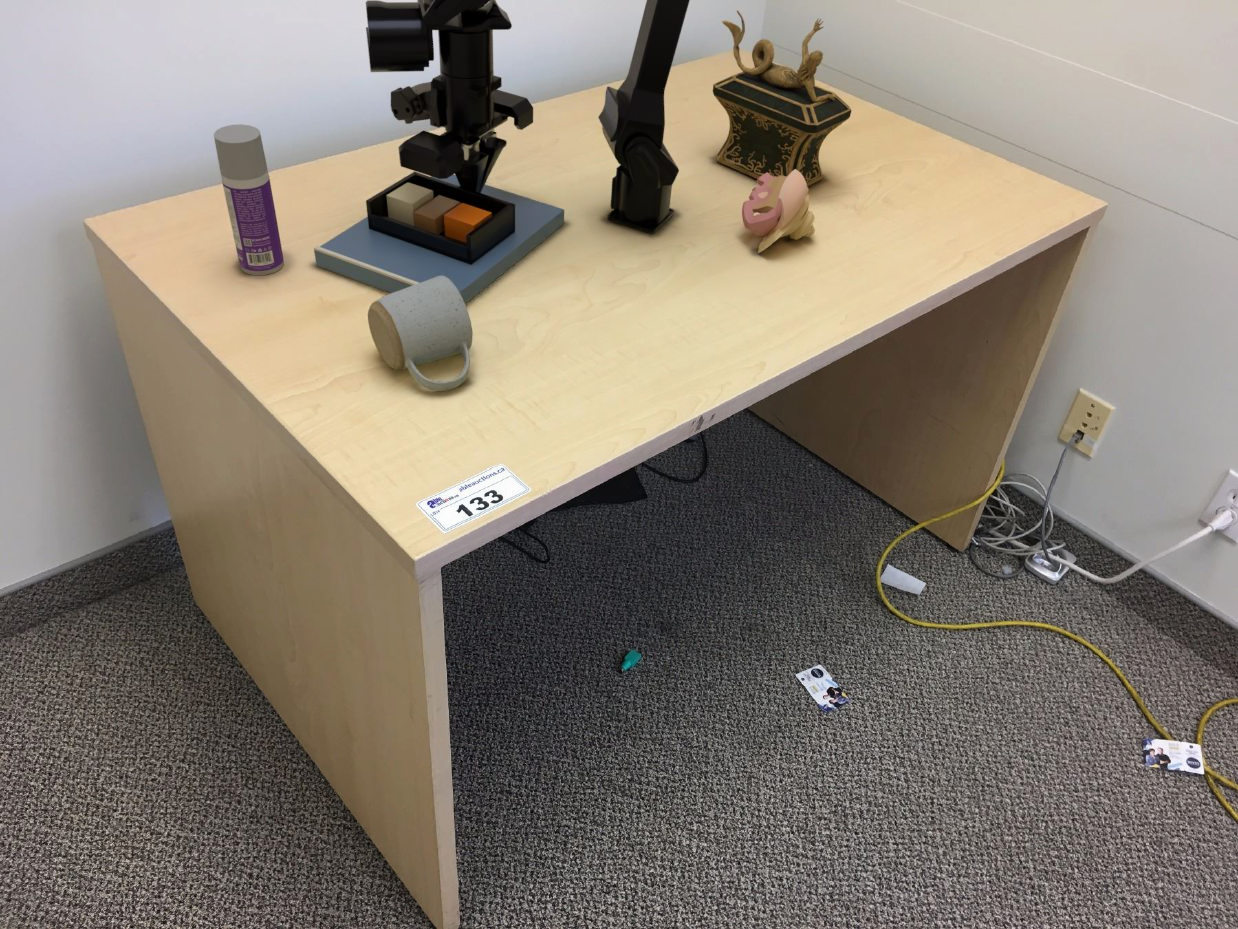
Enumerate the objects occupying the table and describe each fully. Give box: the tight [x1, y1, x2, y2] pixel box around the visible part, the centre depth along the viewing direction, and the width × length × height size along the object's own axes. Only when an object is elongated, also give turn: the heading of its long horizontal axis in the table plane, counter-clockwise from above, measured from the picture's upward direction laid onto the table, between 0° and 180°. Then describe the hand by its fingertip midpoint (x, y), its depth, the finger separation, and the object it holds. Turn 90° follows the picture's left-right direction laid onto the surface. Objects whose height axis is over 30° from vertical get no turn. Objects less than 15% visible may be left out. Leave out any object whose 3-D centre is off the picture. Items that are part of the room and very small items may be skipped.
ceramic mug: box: [367, 276, 474, 392], centre depth 96 cm, size 11×8×8 cm
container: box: [213, 123, 285, 276], centre depth 105 cm, size 5×5×15 cm
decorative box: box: [712, 10, 852, 187], centre depth 132 cm, size 20×10×20 cm, turn 48°
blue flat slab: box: [313, 174, 565, 305], centre depth 116 cm, size 18×24×2 cm
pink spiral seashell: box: [741, 169, 816, 254], centre depth 120 cm, size 9×10×10 cm
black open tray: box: [365, 171, 515, 265], centre depth 114 cm, size 14×9×4 cm, turn 63°
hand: (471, 201), depth 118 cm, fingers closed
